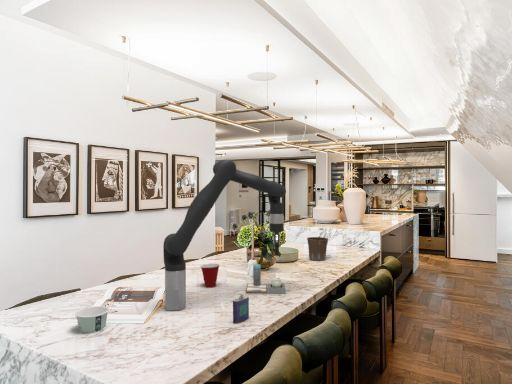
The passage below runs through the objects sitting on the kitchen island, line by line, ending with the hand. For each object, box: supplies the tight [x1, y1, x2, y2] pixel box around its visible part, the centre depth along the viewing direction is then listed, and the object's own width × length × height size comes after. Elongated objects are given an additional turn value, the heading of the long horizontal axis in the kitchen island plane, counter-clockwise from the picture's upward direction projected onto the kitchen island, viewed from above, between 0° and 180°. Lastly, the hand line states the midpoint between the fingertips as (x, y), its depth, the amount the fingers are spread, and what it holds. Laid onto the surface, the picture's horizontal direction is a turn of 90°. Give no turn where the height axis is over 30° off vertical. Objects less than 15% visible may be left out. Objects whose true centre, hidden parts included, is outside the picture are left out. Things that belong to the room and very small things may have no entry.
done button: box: [271, 279, 282, 287], centre depth 189 cm, size 5×5×4 cm
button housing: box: [267, 282, 287, 295], centre depth 189 cm, size 9×9×3 cm
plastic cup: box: [199, 263, 221, 289], centre depth 200 cm, size 11×11×12 cm
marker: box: [252, 263, 262, 286], centre depth 199 cm, size 4×4×11 cm
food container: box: [74, 305, 110, 333], centre depth 140 cm, size 12×12×7 cm
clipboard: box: [245, 283, 268, 295], centre depth 194 cm, size 16×11×1 cm
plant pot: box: [306, 236, 329, 262], centre depth 275 cm, size 16×16×16 cm
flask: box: [232, 293, 250, 325], centre depth 148 cm, size 9×3×11 cm, turn 144°
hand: (276, 255), depth 189 cm, fingers closed
